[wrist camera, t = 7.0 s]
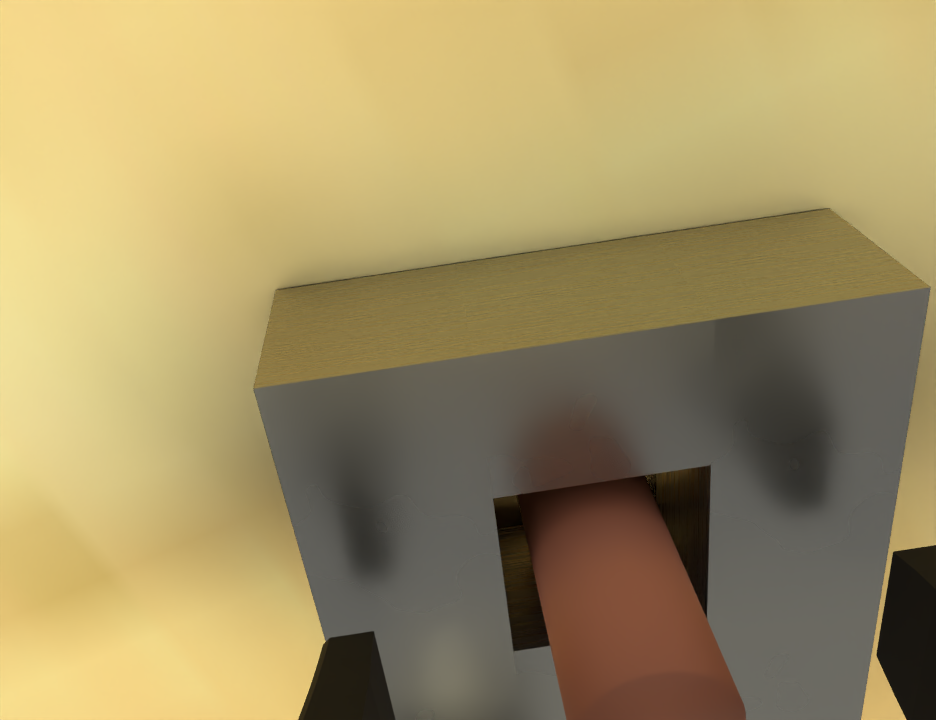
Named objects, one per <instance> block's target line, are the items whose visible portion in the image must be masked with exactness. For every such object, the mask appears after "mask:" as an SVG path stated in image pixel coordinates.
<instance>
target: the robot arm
mask: <svg viewBox="0 0 936 720" xmlns="http://www.w3.org/2000/svg"><path fill="white" fill-rule="evenodd" d="M877 657H878V660H879V662H880V664H881V666H882V668H883V671H884V673H885V675H886V677H887V679H888V682H889V684H890V686H891V688H892V690H893V693H894V695H895V697H896V699H897V701H898V703H899V705H900V707H901V709H902V711H903V713H904V715H905V717H906V719H907V720H936V545H934V546H928V547H921V548H915V549H908V550H901V551H895V552H893V557H892V563H891V569H890V575H889V581H888V588H887V594H886V600H885V606H884V612H883V618H882V624H881V630H880V636H879V642H878V648H877ZM298 720H396V719H395V715H394V711H393V707H392V703H391V699H390V695H389V691H388V687H387V683H386V679H385V674H384V670H383V666H382V662H381V658H380V654H379V650H378V646H377V642H376V638H375V634H374V631H370V632H364V633H357V634H351V635H344V636H337V637H331V638H329V639H328V640H327V641H326V642H325V643H324V644H323V647H322V651H321V654H320V658H319V661H318V664H317V668H316V671H315V674H314V677H313V680H312V683H311V686H310V689H309V692H308V695H307V697H306V700H305V703H304V706H303V708H302V711H301V714H300V716H299V719H298Z"/></svg>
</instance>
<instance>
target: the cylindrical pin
mask: <svg viewBox="0 0 936 720" xmlns="http://www.w3.org/2000/svg"><path fill="white" fill-rule="evenodd" d="M517 498H518V502H519V507H520V512H521V516H522V521H523V525H524V530H525V534H526V539H527V543H528V548H529V552H530V557H531V561H532V566H533V570H534V575H535V579H536V584H537V589H538V593H539V598H540V602H541V607H542V611H543V616H544V620H545V625H546V629H547V634H548V638H549V643H550V647H551V652H552V657H553V661H554V666H555V670H556V675H557V679H558V684H559V688H560V693H561V697H562V702H563V706H564V711H565V715H566V720H746V711H745V707H744V704H743V701H742V699H741V697H740V694H739V692H738V690H737V687H736V685H735V683H734V681H733V678H732V676H731V674H730V671H729V669H728V667H727V664H726V662H725V660H724V657H723V655H722V653H721V651H720V648H719V646H718V644H717V641H716V639H715V637H714V634H713V632H712V630H711V627H710V625H709V623H708V621H707V618H706V616H705V614H704V611H703V609H702V607H701V604H700V602H699V600H698V597H697V595H696V593H695V591H694V588H693V586H692V584H691V581H690V579H689V577H688V574H687V572H686V570H685V567H684V565H683V563H682V561H681V558H680V556H679V554H678V551H677V549H676V547H675V544H674V542H673V540H672V537H671V535H670V533H669V531H668V528H667V526H666V524H665V521H664V519H663V517H662V514H661V512H660V510H659V507H658V505H657V503H656V501H655V498H654V496H653V494H652V491H651V489H650V487H649V484H648V482H647V480H646V477H645V475H643V476H637V477H630V478H624V479H617V480H610V481H604V482H597V483H591V484H584V485H578V486H571V487H565V488H558V489H552V490H545V491H539V492H532V493H525V494H519V495H517Z"/></svg>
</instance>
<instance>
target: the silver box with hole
mask: <svg viewBox="0 0 936 720" xmlns="http://www.w3.org/2000/svg"><path fill="white" fill-rule="evenodd" d="M930 288H931V287H930V286H928V285H927V284H926V283H924V282H923V281H922V280H921V279H919V278H918V277H917V276H915V275H914V274H913V273H912V272H910V271H909V270H908V269H906V268H905V267H904V266H903V265H901V264H900V263H899V262H897V261H896V260H895V259H894V258H892V257H891V256H890V255H888V254H887V253H886V252H885V251H883V250H882V249H881V248H879V247H878V246H877V245H876V244H874V243H873V242H872V241H870V240H869V239H868V238H867V237H865V236H864V235H863V234H861V233H860V232H859V231H858V230H856V229H855V228H854V227H852V226H851V225H850V224H849V223H847V222H846V221H845V220H843V219H842V218H841V217H840V216H838V215H837V214H836V213H834V212H833V211H832V210H831V209H823V210H817V211H810V212H803V213H796V214H790V215H783V216H776V217H769V218H762V219H756V220H749V221H742V222H735V223H729V224H722V225H715V226H708V227H701V228H695V229H688V230H681V231H674V232H668V233H661V234H654V235H647V236H641V237H634V238H627V239H620V240H613V241H607V242H600V243H593V244H586V245H580V246H573V247H566V248H559V249H552V250H546V251H539V252H532V253H525V254H519V255H512V256H505V257H498V258H491V259H485V260H478V261H471V262H464V263H458V264H451V265H444V266H437V267H430V268H424V269H417V270H410V271H403V272H397V273H390V274H383V275H376V276H370V277H363V278H356V279H349V280H342V281H336V282H329V283H322V284H315V285H309V286H302V287H295V288H288V289H281V290H276V292H275V296H274V300H273V305H272V309H271V314H270V318H269V322H268V327H267V331H266V335H265V340H264V344H263V349H262V353H261V357H260V362H259V366H258V370H257V375H256V379H255V384H254V388H253V389H254V393H255V396H256V400H257V403H258V407H259V410H260V414H261V417H262V421H263V424H264V428H265V431H266V435H267V438H268V442H269V445H270V449H271V452H272V456H273V459H274V463H275V466H276V469H277V473H278V476H279V480H280V483H281V487H282V490H283V494H284V497H285V501H286V504H287V508H288V511H289V515H290V518H291V522H292V525H293V529H294V532H295V536H296V539H297V543H298V546H299V550H300V553H301V557H302V560H303V564H304V567H305V571H306V574H307V578H308V581H309V585H310V588H311V592H312V595H313V599H314V602H315V606H316V609H317V613H318V616H319V620H320V623H321V627H322V630H323V634H324V637H325V640H326V641H327V640H328V639H329V638H331V637H337V636H344V635H351V634H357V633H364V632H370V631H374V634H375V638H376V642H377V646H378V650H379V654H380V658H381V662H382V666H383V670H384V674H385V679H386V683H387V687H388V691H389V695H390V699H391V703H392V707H393V711H394V715H395V719H396V720H566V715H565V711H564V706H563V702H562V697H561V693H560V688H559V684H558V679H557V675H556V670H555V666H554V661H553V657H552V652H551V647H550V643H549V638H548V634H547V629H546V625H545V620H544V616H543V611H542V607H541V602H540V598H539V593H538V589H537V584H536V579H535V575H534V570H533V566H532V561H531V557H530V552H529V548H528V543H527V539H526V534H525V530H524V525H519V526H512V527H506V528H499V529H497V525H496V518H495V510H494V503H493V498H499V497H506V496H512V495H519V494H525V493H532V492H539V491H545V490H552V489H558V488H565V487H571V486H578V485H584V484H591V483H597V482H604V481H610V480H617V479H624V478H630V477H637V476H643V475H650V474H656V503H657V505H658V507H659V510H660V512H661V514H662V517H663V519H664V521H665V524H666V526H667V528H668V531H669V533H670V535H671V537H672V540H673V542H674V544H675V547H676V549H677V551H678V554H679V556H680V558H681V561H682V563H683V565H684V567H685V570H686V572H687V574H688V577H689V579H690V581H691V584H692V586H693V588H694V591H695V593H696V595H697V597H698V600H699V602H700V604H701V607H702V609H703V611H704V614H705V616H706V618H707V621H708V623H709V625H710V627H711V630H712V632H713V634H714V637H715V639H716V641H717V644H718V646H719V648H720V651H721V653H722V655H723V657H724V660H725V662H726V664H727V667H728V669H729V671H730V674H731V676H732V678H733V681H734V683H735V685H736V687H737V690H738V692H739V694H740V697H741V699H742V701H743V704H744V707H745V711H746V720H861V715H862V709H863V703H864V697H865V691H866V684H867V678H868V672H869V666H870V660H871V653H872V647H873V641H874V635H875V629H876V622H877V616H878V610H879V604H880V598H881V591H882V585H883V579H884V573H885V567H886V560H887V554H888V548H889V542H890V536H891V529H892V523H893V517H894V511H895V505H896V499H897V492H898V486H899V480H900V474H901V468H902V461H903V455H904V449H905V443H906V437H907V430H908V424H909V418H910V412H911V406H912V399H913V393H914V387H915V381H916V375H917V368H918V362H919V356H920V350H921V344H922V337H923V331H924V325H925V319H926V313H927V306H928V300H929V294H930Z"/></svg>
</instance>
